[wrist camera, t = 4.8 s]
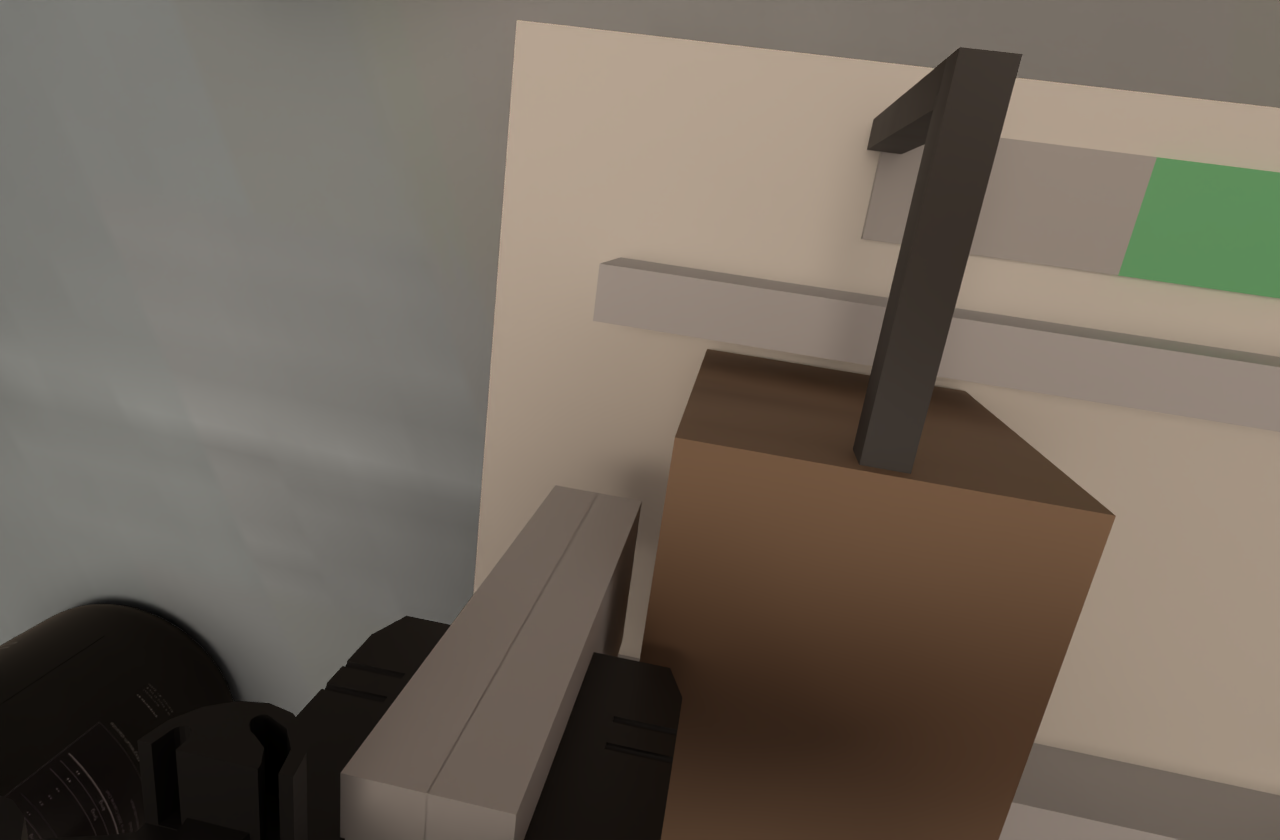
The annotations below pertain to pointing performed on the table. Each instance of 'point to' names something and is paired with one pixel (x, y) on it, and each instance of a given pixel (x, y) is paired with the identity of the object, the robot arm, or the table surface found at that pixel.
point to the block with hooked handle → (869, 552)
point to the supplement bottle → (93, 713)
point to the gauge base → (972, 361)
